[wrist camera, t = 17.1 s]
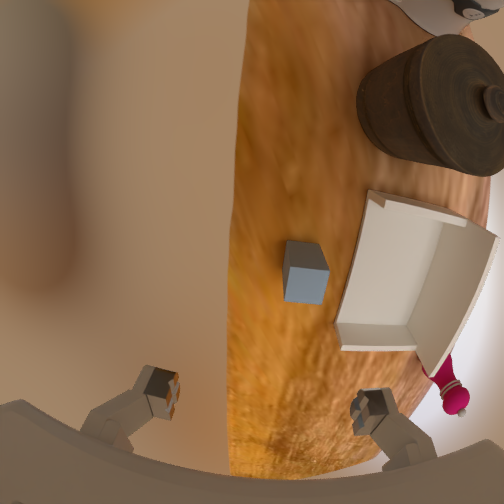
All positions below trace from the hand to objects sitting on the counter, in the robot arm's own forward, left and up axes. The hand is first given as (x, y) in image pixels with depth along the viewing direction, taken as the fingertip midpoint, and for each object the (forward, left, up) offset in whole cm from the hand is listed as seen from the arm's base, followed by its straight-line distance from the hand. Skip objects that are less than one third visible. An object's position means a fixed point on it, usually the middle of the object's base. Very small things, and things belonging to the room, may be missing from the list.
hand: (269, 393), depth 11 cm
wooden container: (-14, +21, -31) cm, 40 cm away
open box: (+12, +20, -31) cm, 39 cm away
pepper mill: (+34, +33, -31) cm, 57 cm away
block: (+8, +3, -31) cm, 32 cm away
